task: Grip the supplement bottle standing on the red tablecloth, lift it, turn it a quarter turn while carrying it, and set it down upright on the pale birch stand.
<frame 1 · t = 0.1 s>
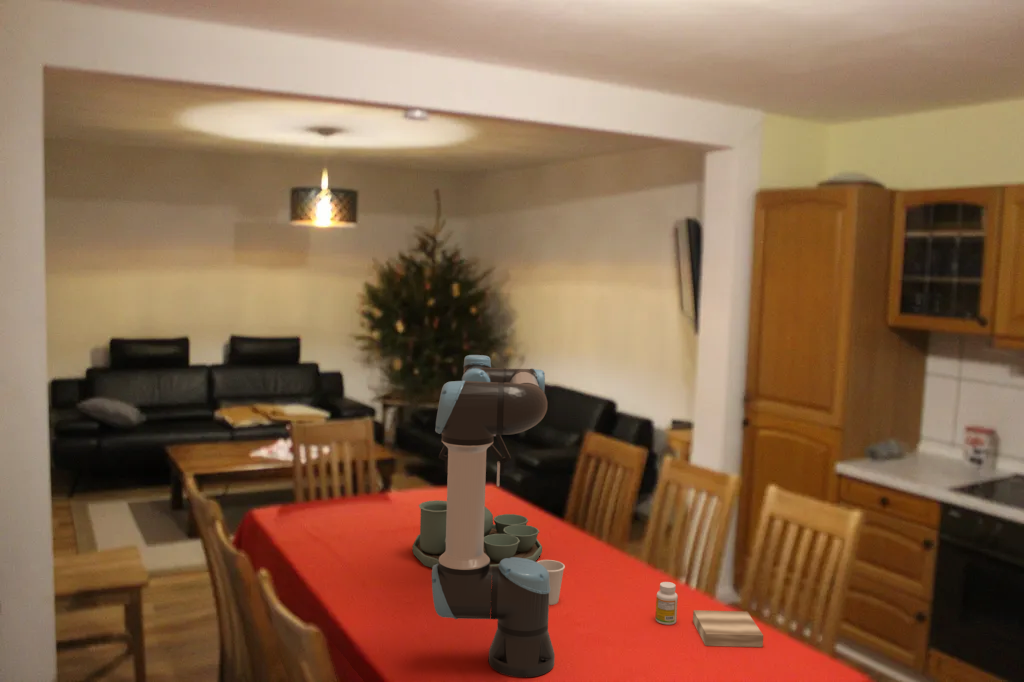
hand: (473, 484, 246), 28 cm above the table, tool pointing down, fingers open, 13 cm apart
tea set: (477, 554, 272), on the table
dixie cup: (547, 601, 236), on the table
supplement bottle: (665, 621, 226), on the table
birch stand: (726, 633, 219), on the table
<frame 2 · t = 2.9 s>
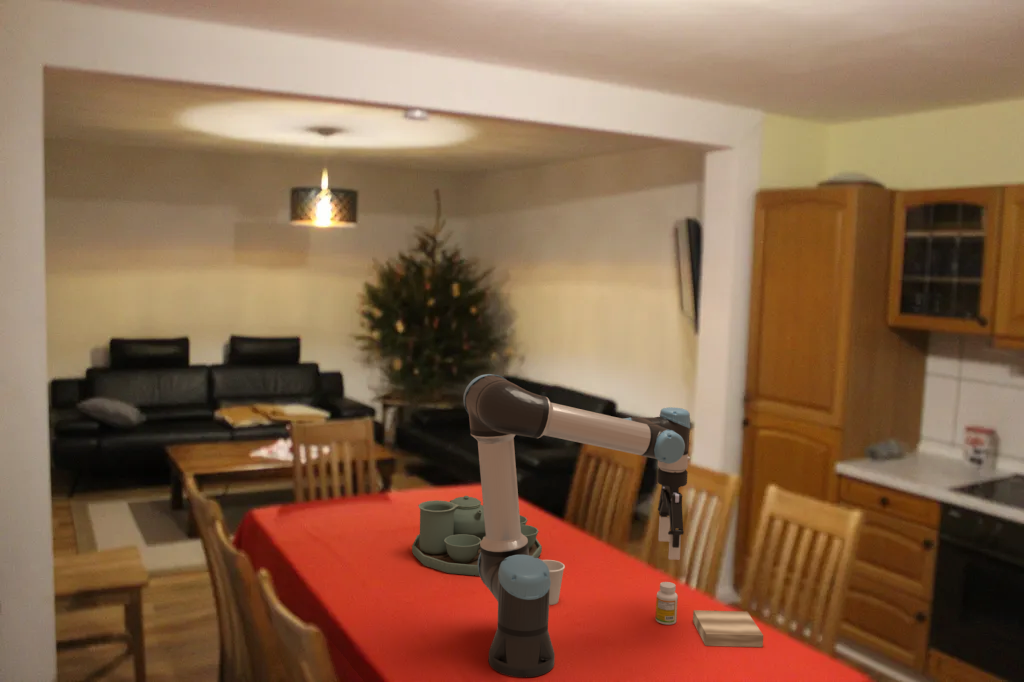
hand: (668, 549, 224), 19 cm above the table, tool pointing down, fingers open, 13 cm apart
nothing on the table moved.
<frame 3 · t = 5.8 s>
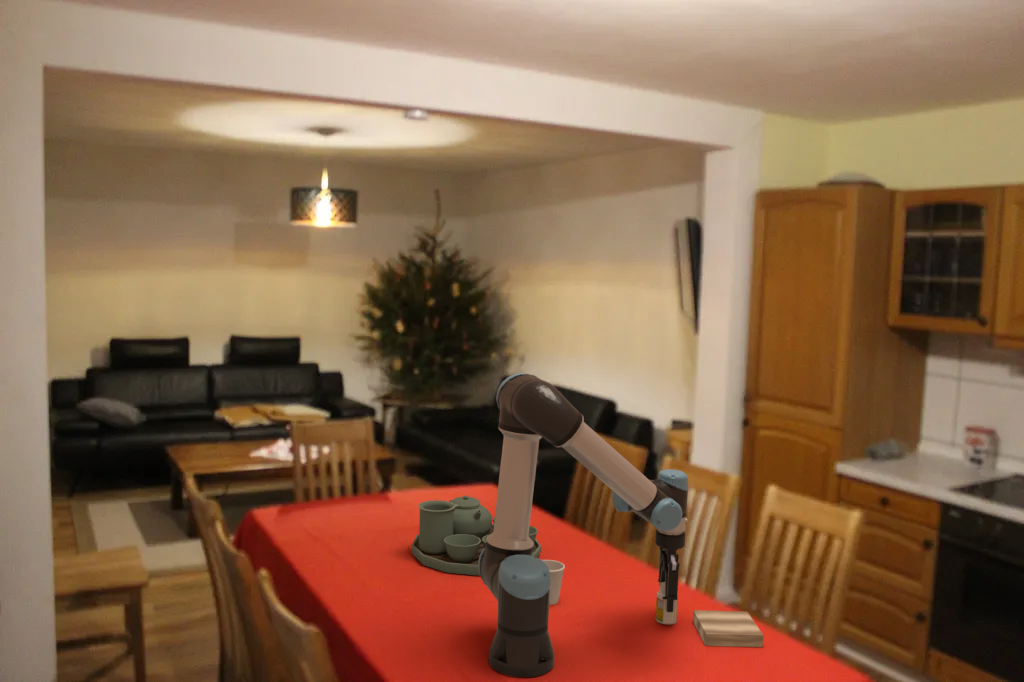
hand: (666, 617, 225), 1 cm above the table, tool pointing down, fingers closed on supplement bottle, 5 cm apart
supplement bottle: (665, 621, 226), on the table, touching gripper
everything else where it was.
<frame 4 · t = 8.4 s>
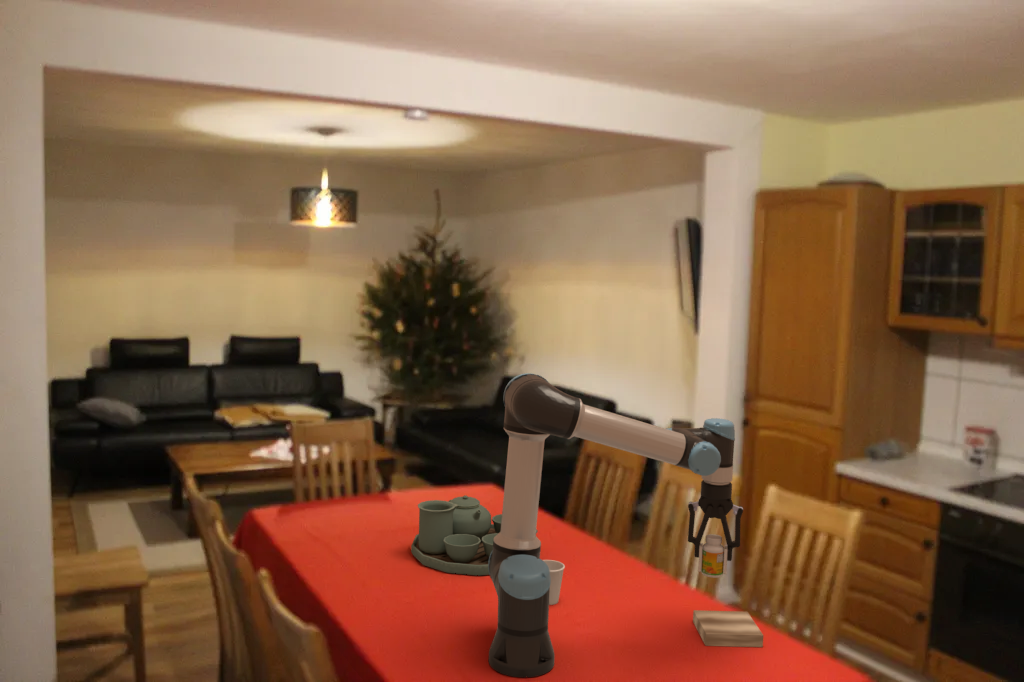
hand: (712, 570, 219), 15 cm above the table, tool pointing down, fingers closed on supplement bottle, 5 cm apart
supplement bottle: (712, 574, 220), point 14 cm above the table, touching gripper
everything else where it was.
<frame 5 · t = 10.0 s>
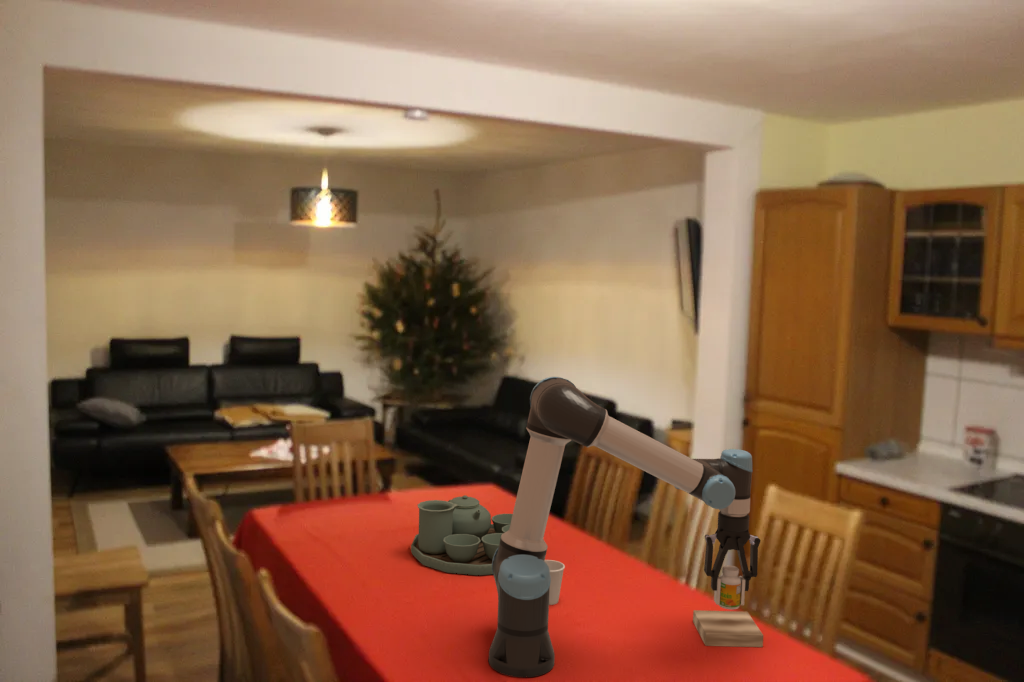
hand: (728, 602, 218), 8 cm above the table, tool pointing down, fingers closed on supplement bottle, 5 cm apart
supplement bottle: (728, 606, 218), point 7 cm above the table, touching gripper
everything else where it was.
when the fingers open (4 cm above the table, at t = 11.4 s): supplement bottle stays where it is, resting on birch stand.
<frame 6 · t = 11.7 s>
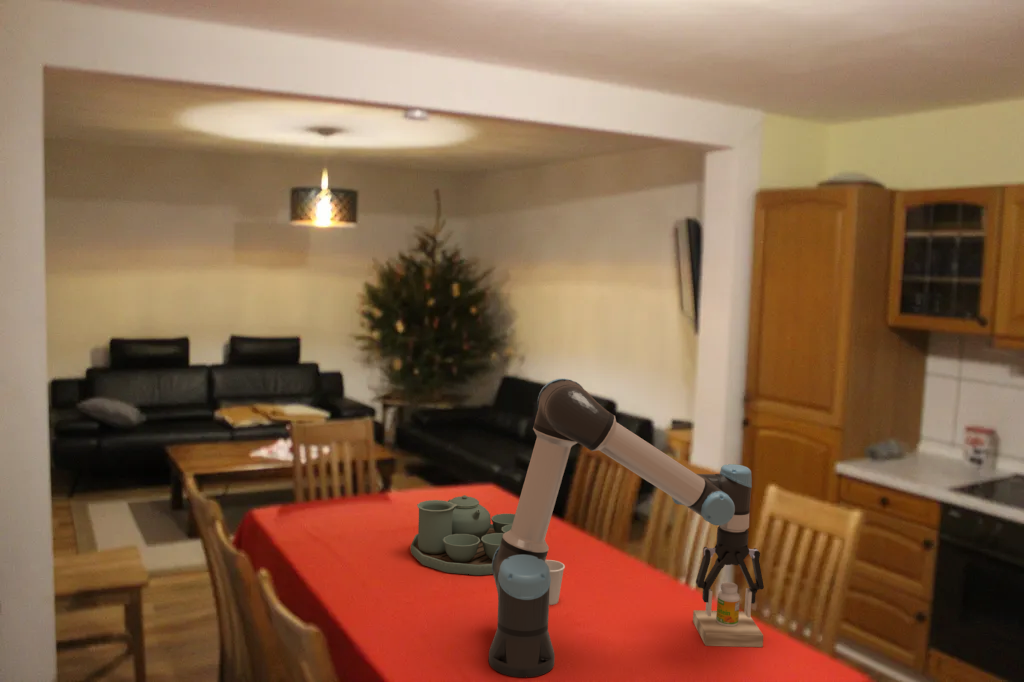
hand: (727, 614, 218), 5 cm above the table, tool pointing down, fingers open, 9 cm apart
supplement bottle: (727, 623, 218), point 3 cm above the table, touching birch stand
everything else where it was.
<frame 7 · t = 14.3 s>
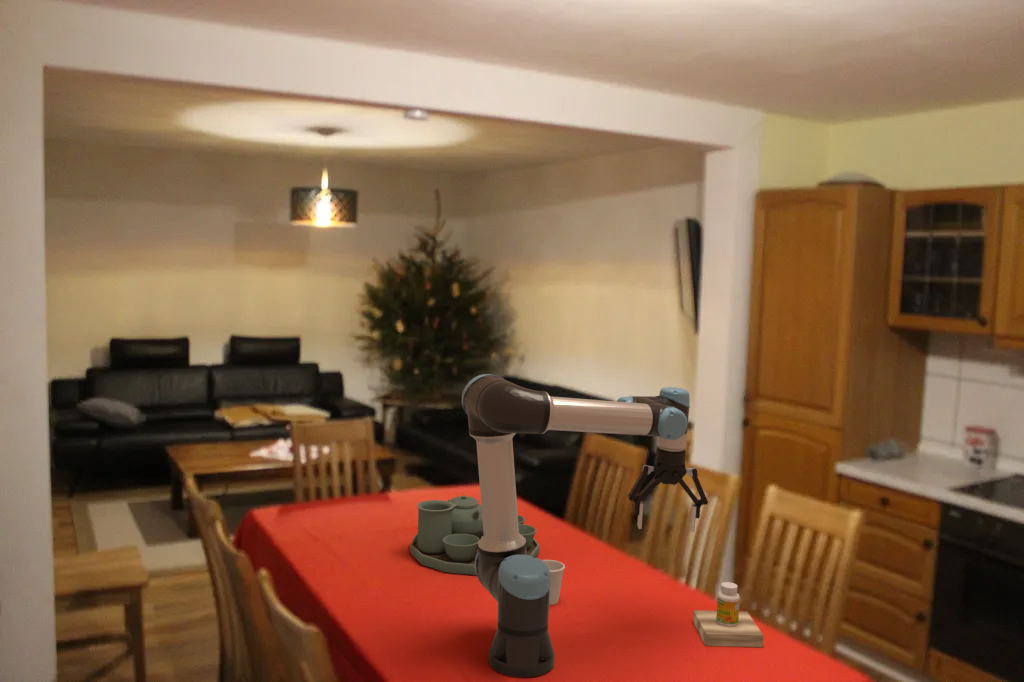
hand: (665, 528, 225), 24 cm above the table, tool pointing down, fingers open, 13 cm apart
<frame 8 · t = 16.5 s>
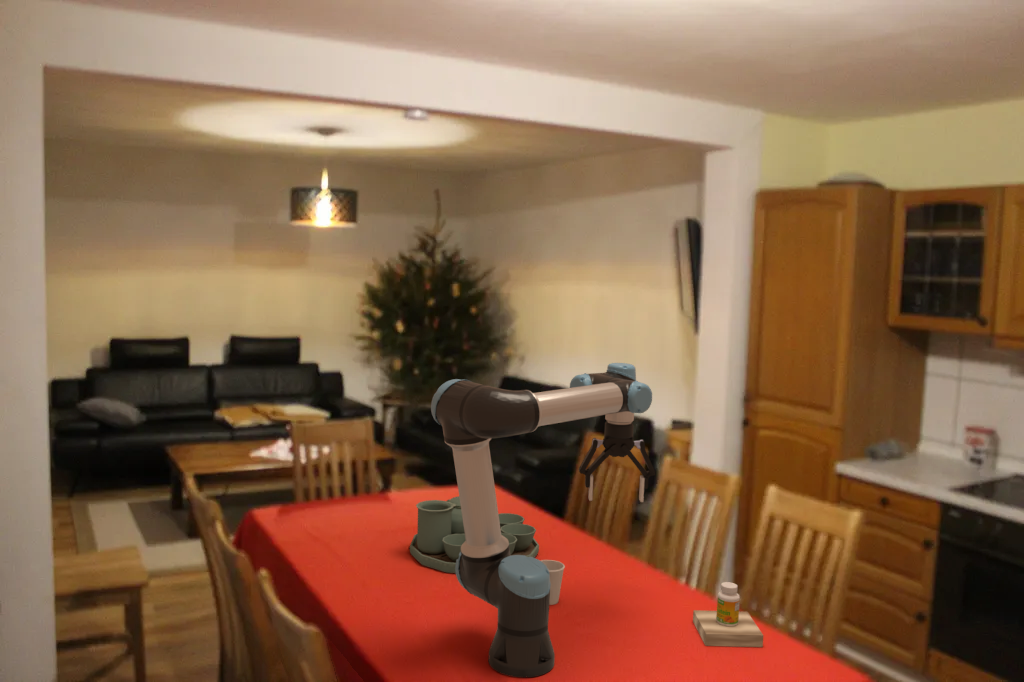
hand: (615, 500, 232), 29 cm above the table, tool pointing down, fingers open, 13 cm apart
at the end: supplement bottle inside the target area on the birch stand (0.0 cm from its centre), point 2.8 cm above the birch stand's base; supplement bottle tilted 0°; the gripper is holding nothing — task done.
